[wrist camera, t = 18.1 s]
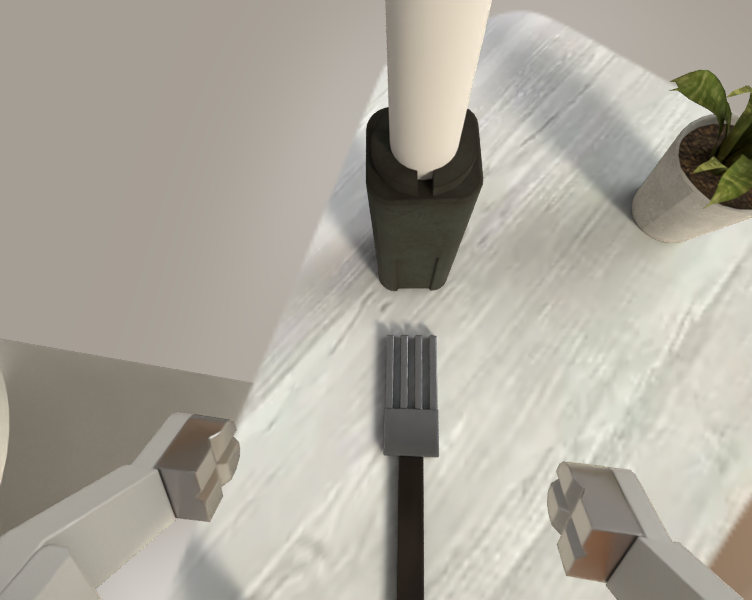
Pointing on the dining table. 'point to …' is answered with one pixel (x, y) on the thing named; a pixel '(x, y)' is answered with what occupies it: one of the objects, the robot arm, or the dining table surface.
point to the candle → (425, 140)
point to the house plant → (700, 169)
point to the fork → (411, 459)
